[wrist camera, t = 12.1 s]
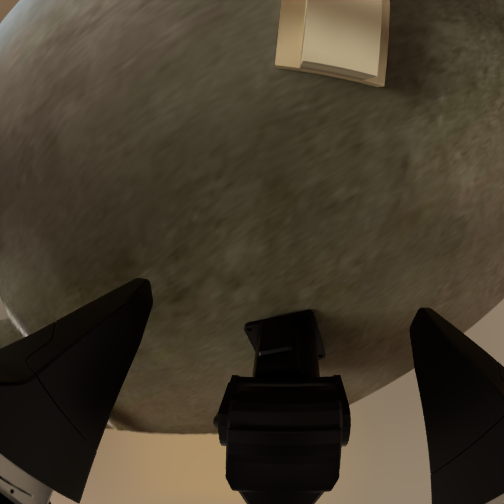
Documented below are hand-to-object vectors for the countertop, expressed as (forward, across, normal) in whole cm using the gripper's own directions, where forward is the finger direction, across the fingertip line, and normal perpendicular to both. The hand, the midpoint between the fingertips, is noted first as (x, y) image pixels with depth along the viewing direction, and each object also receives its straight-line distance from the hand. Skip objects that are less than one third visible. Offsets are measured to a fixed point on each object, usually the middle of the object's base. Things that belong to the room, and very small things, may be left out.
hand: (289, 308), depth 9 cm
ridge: (+13, -2, -18) cm, 23 cm away
